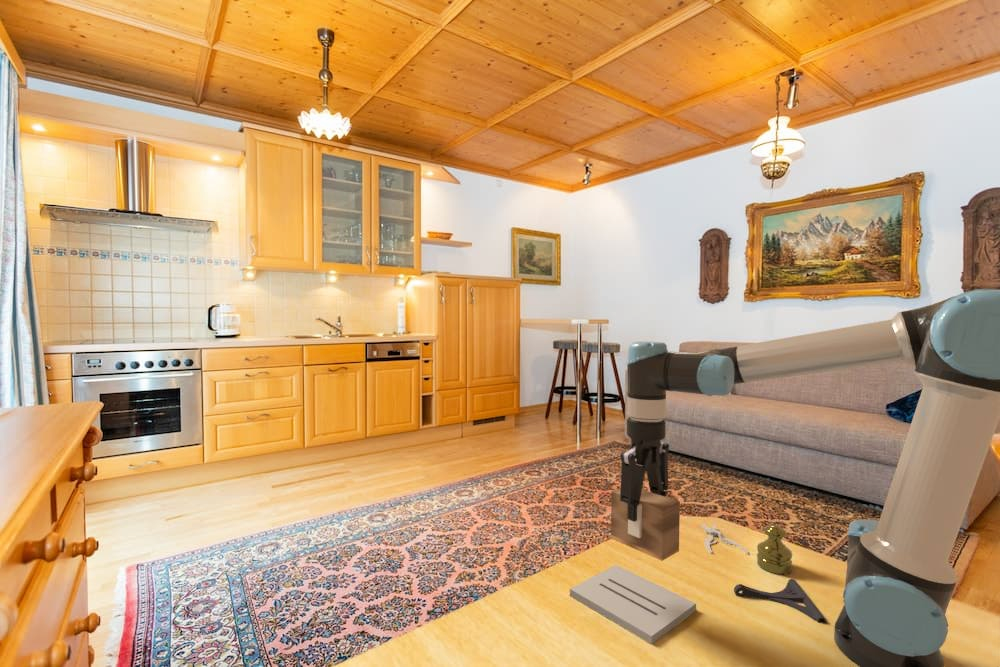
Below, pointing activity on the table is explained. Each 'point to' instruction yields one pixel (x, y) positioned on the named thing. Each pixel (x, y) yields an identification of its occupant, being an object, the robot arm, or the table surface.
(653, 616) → the board
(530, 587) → the table surface
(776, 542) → the brass door knob
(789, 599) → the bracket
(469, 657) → the table surface
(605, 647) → the table surface
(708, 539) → the pliers
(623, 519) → the block
